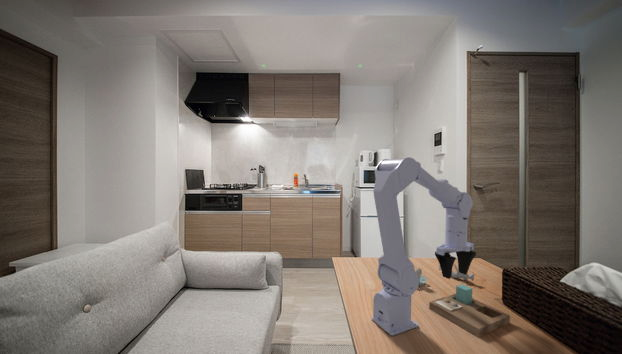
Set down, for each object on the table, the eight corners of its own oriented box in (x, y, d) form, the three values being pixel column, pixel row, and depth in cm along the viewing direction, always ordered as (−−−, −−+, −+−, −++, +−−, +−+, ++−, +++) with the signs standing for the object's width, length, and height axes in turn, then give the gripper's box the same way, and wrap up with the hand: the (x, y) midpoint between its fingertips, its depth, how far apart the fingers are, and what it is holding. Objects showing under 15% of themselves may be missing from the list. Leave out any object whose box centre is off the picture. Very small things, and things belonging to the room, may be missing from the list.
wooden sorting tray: (478, 337, 60) (478, 327, 60) (429, 308, 73) (429, 300, 73) (509, 322, 67) (510, 313, 67) (459, 298, 79) (459, 291, 79)
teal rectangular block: (465, 310, 72) (465, 290, 72) (455, 305, 75) (456, 286, 75) (471, 308, 74) (472, 288, 74) (462, 303, 76) (462, 284, 76)
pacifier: (402, 283, 90) (417, 289, 85) (401, 266, 90) (417, 271, 85) (413, 279, 94) (428, 284, 89) (413, 262, 94) (428, 267, 90)
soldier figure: (446, 273, 102) (478, 273, 93) (445, 284, 99) (478, 285, 90) (436, 262, 100) (468, 261, 91) (435, 273, 97) (468, 273, 88)
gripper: (452, 236, 68) (451, 285, 68) (484, 231, 74) (483, 276, 74) (430, 230, 74) (429, 275, 75) (461, 227, 81) (460, 268, 81)
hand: (454, 275), depth 75 cm, fingers open, 7 cm apart
